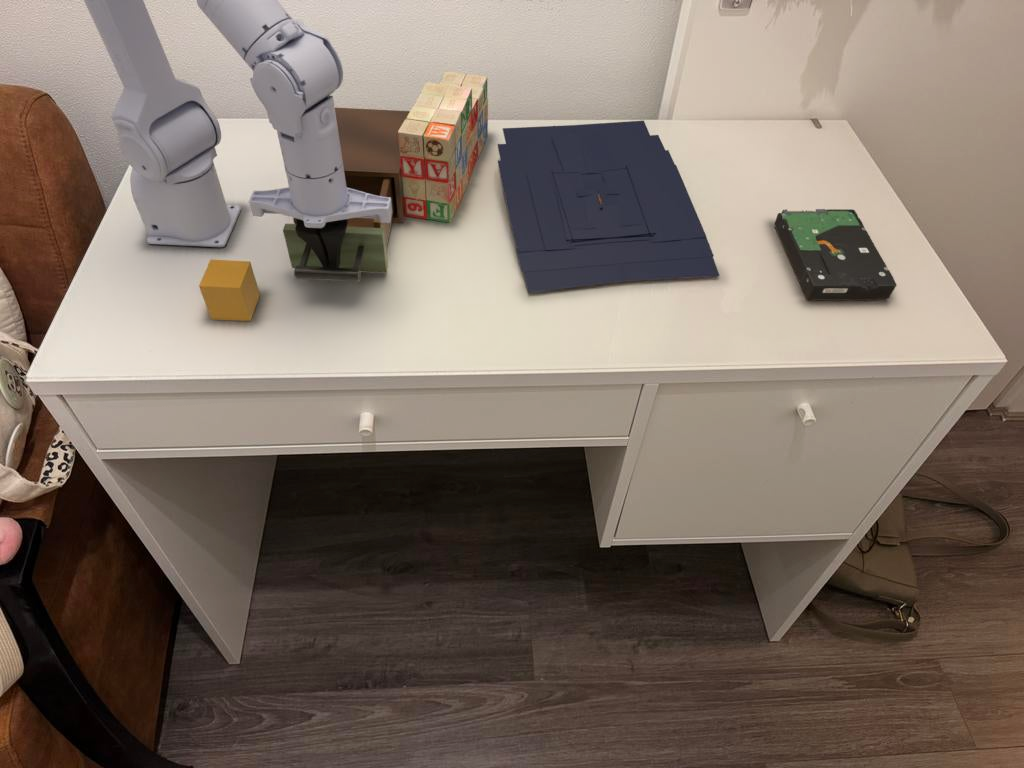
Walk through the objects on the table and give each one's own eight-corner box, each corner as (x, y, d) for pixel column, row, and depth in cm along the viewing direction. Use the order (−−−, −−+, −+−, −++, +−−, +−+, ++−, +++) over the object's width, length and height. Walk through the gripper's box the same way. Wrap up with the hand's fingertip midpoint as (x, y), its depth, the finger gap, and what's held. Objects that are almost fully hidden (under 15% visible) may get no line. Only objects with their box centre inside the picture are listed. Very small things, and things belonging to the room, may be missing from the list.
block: (211, 319, 84) (198, 285, 80) (222, 292, 86) (210, 259, 83) (250, 321, 84) (240, 287, 80) (260, 294, 86) (250, 261, 83)
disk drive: (889, 302, 90) (846, 224, 100) (899, 285, 88) (855, 207, 97) (806, 303, 89) (771, 224, 99) (814, 286, 87) (777, 207, 97)
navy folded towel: (652, 135, 110) (657, 114, 107) (715, 290, 93) (724, 270, 90) (488, 145, 106) (489, 123, 103) (524, 307, 90) (526, 287, 87)
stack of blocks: (447, 130, 111) (444, 48, 101) (488, 137, 110) (489, 54, 101) (404, 216, 97) (396, 130, 88) (451, 224, 96) (448, 138, 87)
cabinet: (403, 222, 96) (399, 172, 91) (306, 218, 96) (296, 168, 90) (415, 159, 106) (412, 111, 100) (327, 155, 105) (319, 106, 100)
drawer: (380, 303, 85) (375, 265, 81) (281, 299, 85) (271, 260, 81) (400, 204, 97) (397, 166, 93) (314, 200, 97) (307, 162, 93)
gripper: (229, 182, 72) (260, 287, 82) (380, 189, 72) (392, 293, 83) (248, 142, 77) (275, 246, 87) (390, 149, 77) (400, 252, 87)
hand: (332, 266), depth 85 cm, fingers closed
